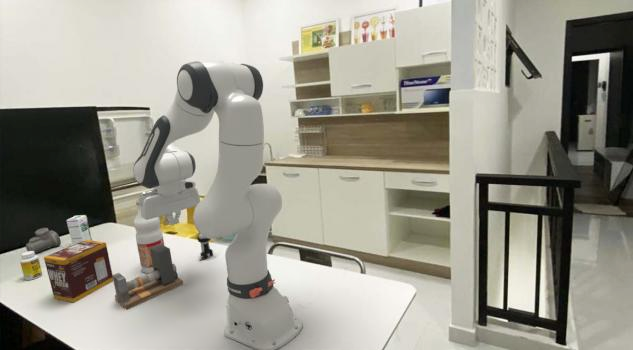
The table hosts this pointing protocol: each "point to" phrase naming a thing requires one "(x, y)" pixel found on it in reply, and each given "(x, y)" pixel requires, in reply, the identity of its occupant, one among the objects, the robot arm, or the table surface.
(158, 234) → the fruit juice
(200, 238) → the push button
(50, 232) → the pipe fitting
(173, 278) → the dark grey upright block
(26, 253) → the supplement bottle
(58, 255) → the supplement box
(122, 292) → the pipe rig
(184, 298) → the table surface
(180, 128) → the robot arm
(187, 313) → the table surface
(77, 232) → the syrup box
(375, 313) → the table surface
